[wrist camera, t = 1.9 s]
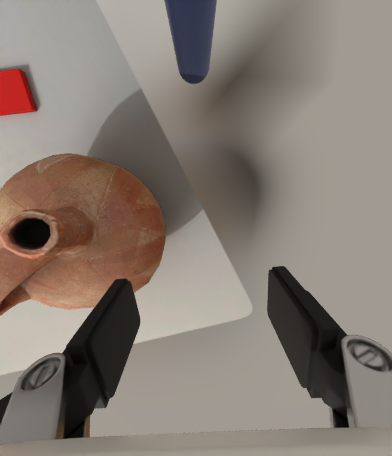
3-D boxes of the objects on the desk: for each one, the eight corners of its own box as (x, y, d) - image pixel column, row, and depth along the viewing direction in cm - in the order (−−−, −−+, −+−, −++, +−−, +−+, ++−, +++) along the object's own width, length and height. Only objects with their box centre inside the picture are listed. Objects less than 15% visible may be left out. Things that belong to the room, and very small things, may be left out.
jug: (117, 286, 33) (9, 443, 14) (34, 210, 29) (-277, 294, 10) (195, 227, 29) (190, 335, 11) (113, 129, 25) (-148, 15, 6)
